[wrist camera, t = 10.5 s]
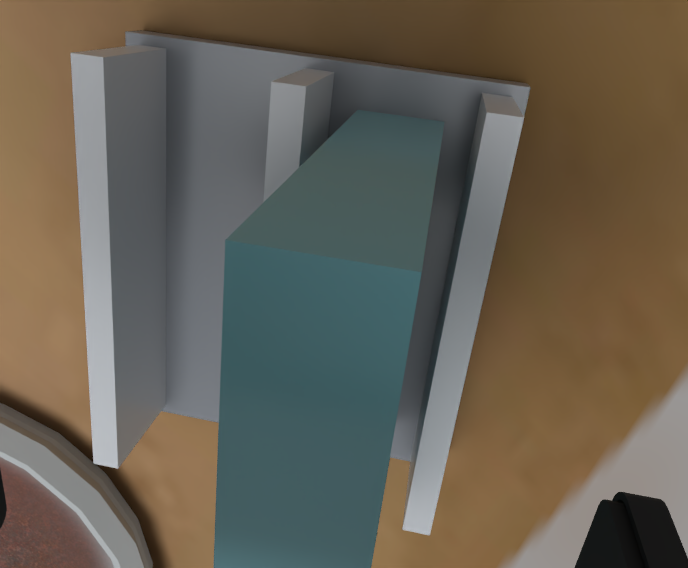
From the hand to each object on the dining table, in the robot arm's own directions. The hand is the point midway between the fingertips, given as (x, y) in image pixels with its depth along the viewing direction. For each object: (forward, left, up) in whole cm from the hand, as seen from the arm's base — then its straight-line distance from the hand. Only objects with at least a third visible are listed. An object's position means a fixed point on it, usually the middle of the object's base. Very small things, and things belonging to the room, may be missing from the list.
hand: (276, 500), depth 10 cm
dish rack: (+1, -2, -12) cm, 12 cm away
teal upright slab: (+1, 0, -11) cm, 11 cm away
